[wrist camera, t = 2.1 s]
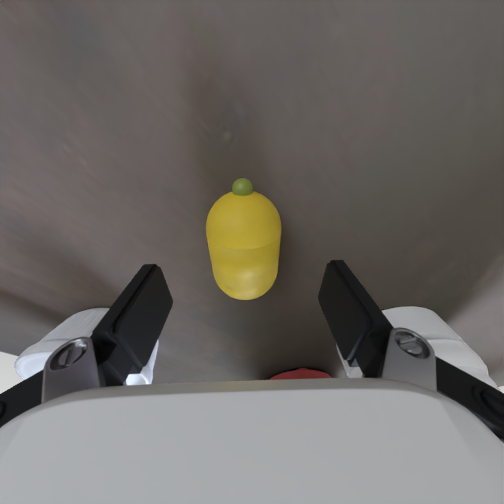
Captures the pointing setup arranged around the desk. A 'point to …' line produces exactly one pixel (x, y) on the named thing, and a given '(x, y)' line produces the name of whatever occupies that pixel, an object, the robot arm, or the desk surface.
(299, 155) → the desk surface
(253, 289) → the lemon
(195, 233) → the desk surface
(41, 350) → the ramekin
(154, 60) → the desk surface
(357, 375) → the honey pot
